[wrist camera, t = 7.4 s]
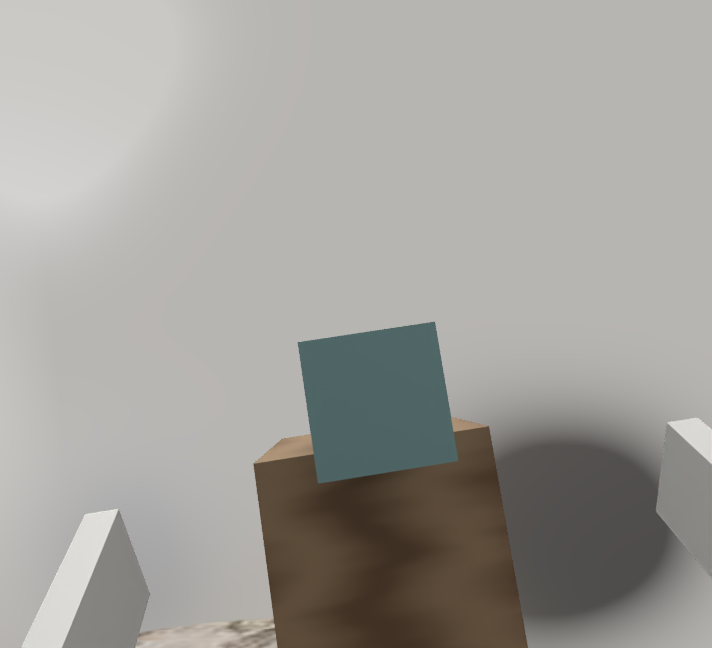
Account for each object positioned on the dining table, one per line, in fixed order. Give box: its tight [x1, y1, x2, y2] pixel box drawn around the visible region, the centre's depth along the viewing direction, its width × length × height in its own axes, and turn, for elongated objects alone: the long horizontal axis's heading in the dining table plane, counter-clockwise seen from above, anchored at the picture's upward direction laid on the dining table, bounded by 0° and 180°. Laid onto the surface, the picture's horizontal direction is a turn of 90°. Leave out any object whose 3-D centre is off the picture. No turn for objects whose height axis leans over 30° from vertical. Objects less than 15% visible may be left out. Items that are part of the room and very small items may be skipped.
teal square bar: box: [298, 322, 458, 484], centre depth 27 cm, size 4×22×4 cm, turn 2°
